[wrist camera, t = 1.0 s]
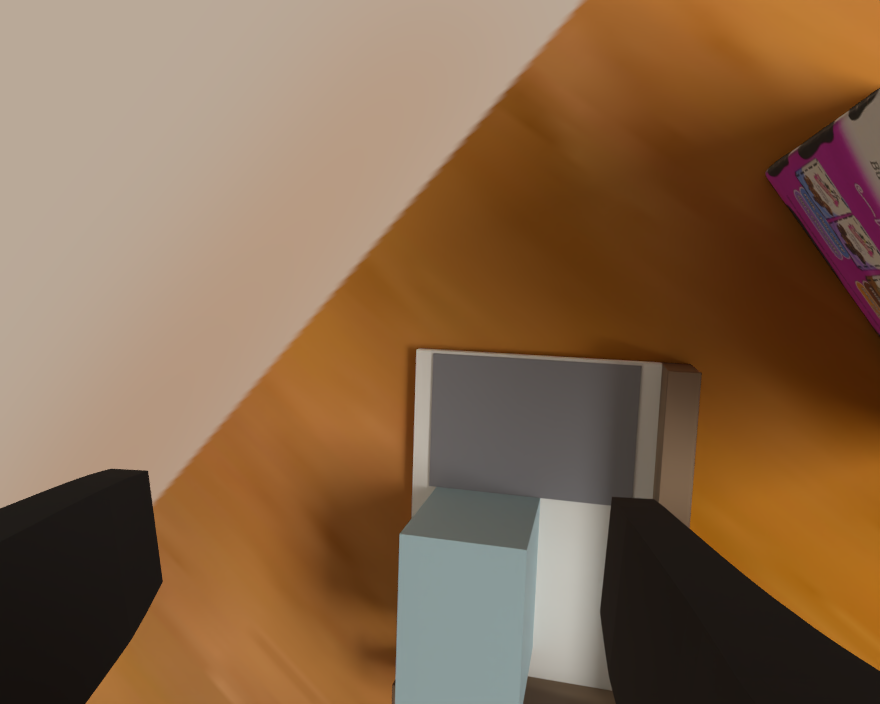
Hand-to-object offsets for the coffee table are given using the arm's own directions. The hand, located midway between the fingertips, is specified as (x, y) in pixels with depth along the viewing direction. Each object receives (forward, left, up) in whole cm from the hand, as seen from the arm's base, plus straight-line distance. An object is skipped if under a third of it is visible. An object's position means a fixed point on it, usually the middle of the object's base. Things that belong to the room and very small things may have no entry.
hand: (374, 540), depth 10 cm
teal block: (-7, 0, -15) cm, 16 cm away
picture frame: (-5, -2, -15) cm, 16 cm away
